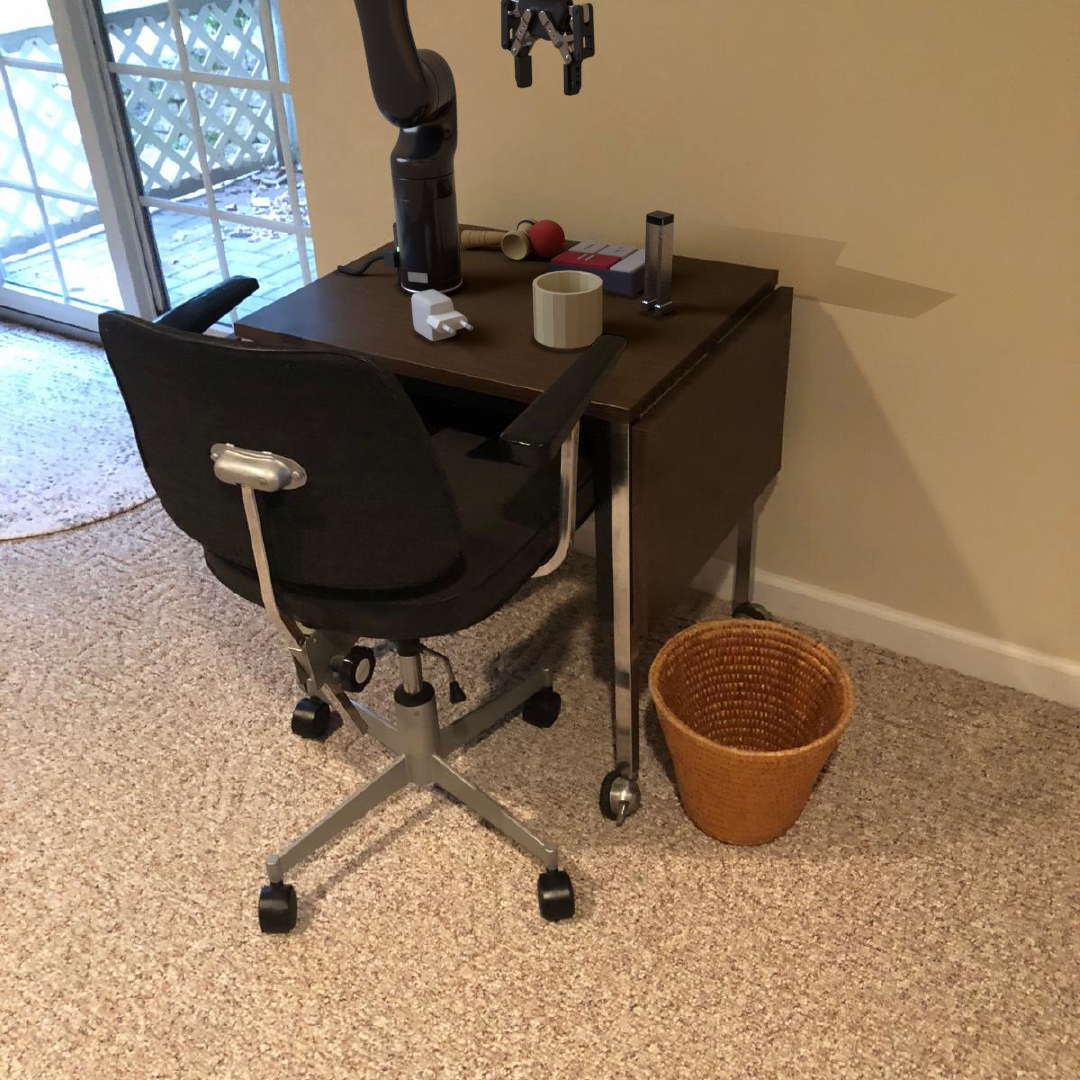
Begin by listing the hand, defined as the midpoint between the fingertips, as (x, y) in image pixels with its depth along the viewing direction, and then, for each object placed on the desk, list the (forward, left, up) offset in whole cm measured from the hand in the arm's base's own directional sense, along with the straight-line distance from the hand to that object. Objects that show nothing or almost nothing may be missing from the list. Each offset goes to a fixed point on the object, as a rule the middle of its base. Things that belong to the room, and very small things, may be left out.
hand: (547, 90), depth 137 cm
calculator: (-4, +16, -30) cm, 34 cm away
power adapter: (-4, -17, -30) cm, 35 cm away
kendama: (-24, +15, -30) cm, 41 cm away
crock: (+8, -5, -30) cm, 32 cm away
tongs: (+11, +10, -30) cm, 34 cm away
